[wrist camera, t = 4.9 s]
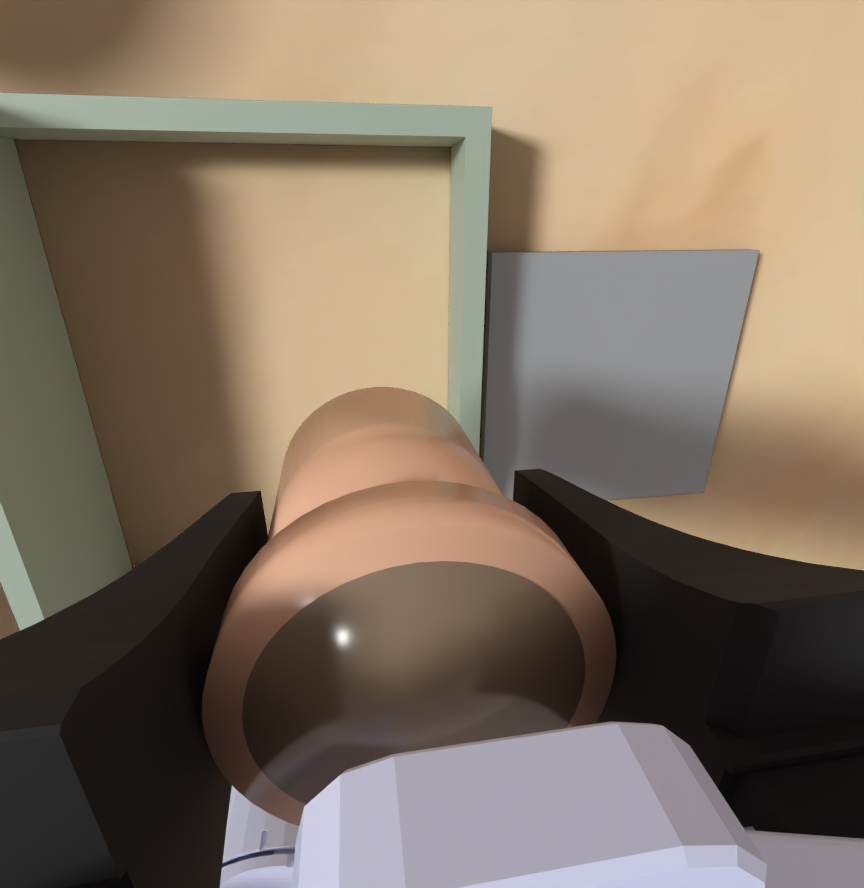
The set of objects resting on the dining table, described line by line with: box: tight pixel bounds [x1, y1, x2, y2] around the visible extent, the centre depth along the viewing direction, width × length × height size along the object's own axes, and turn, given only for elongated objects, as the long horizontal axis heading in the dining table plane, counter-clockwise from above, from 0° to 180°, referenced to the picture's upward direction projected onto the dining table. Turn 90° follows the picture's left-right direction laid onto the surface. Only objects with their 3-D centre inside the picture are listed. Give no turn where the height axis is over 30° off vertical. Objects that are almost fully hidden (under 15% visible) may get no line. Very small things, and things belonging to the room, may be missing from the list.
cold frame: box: [0, 93, 492, 631], centre depth 18 cm, size 19×16×6 cm
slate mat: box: [480, 249, 759, 500], centre depth 23 cm, size 11×11×1 cm
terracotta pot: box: [202, 387, 616, 826], centre depth 10 cm, size 6×6×7 cm
